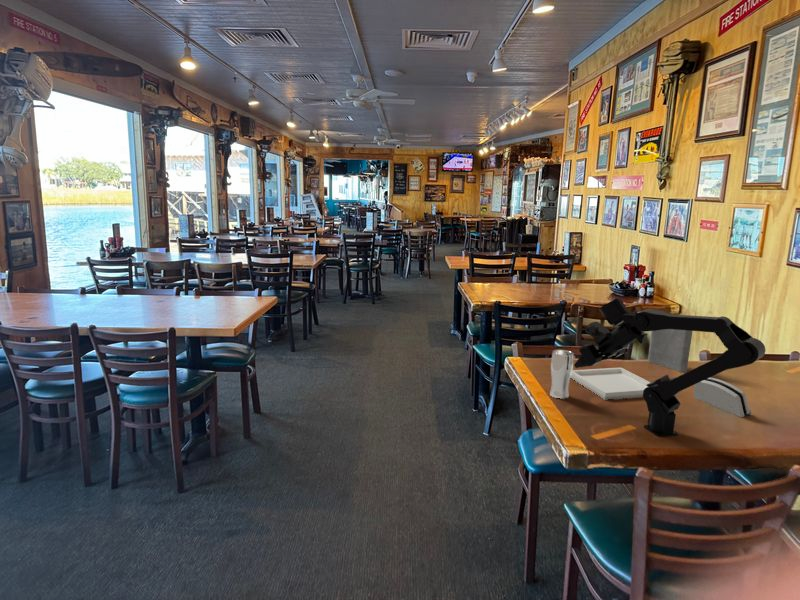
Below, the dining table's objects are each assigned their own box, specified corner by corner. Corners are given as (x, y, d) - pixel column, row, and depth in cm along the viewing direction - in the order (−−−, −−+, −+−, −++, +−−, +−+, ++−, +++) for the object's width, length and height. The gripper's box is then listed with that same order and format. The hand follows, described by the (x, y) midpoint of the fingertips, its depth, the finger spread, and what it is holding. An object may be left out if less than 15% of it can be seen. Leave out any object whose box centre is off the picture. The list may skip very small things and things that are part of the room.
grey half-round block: (753, 415, 157) (750, 387, 154) (742, 422, 156) (739, 394, 152) (703, 395, 172) (700, 370, 169) (693, 401, 171) (690, 376, 168)
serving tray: (662, 395, 171) (663, 388, 170) (604, 400, 166) (605, 392, 165) (620, 373, 192) (621, 367, 191) (568, 377, 187) (568, 370, 186)
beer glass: (546, 397, 167) (550, 353, 164) (550, 390, 173) (554, 348, 170) (568, 401, 164) (572, 357, 161) (571, 394, 170) (575, 351, 167)
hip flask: (645, 361, 208) (652, 313, 204) (652, 359, 210) (658, 312, 206) (683, 373, 194) (690, 322, 190) (689, 371, 196) (697, 321, 192)
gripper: (619, 311, 159) (584, 337, 169) (588, 319, 147) (552, 347, 158) (641, 341, 155) (603, 366, 165) (611, 352, 143) (572, 378, 153)
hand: (583, 363), depth 160 cm, fingers open, 9 cm apart
